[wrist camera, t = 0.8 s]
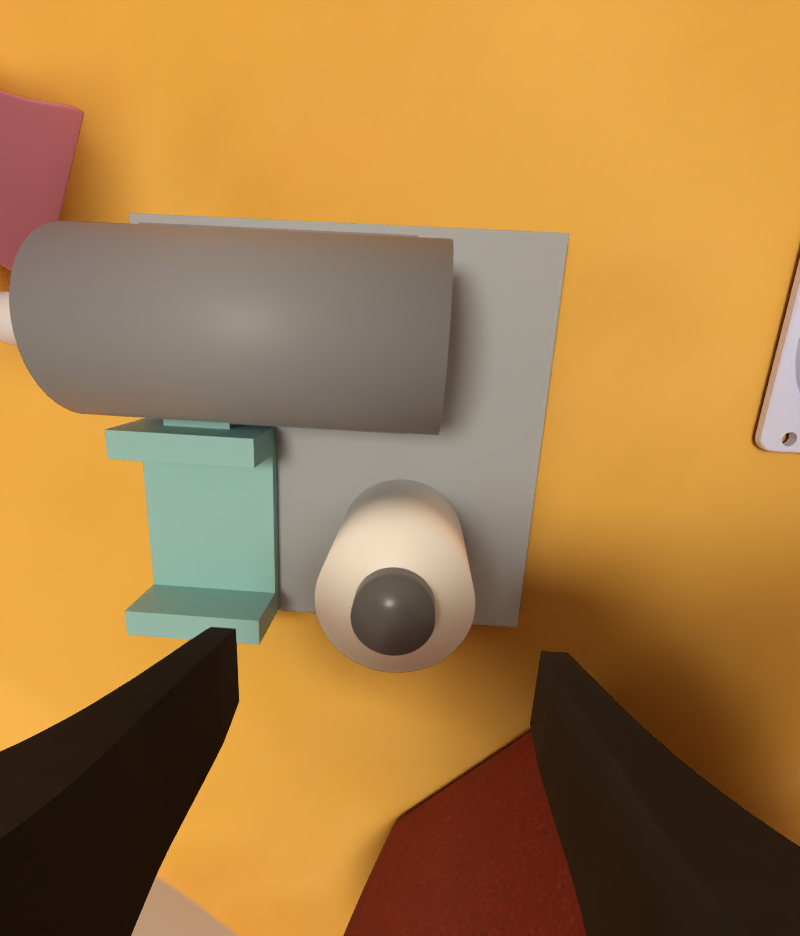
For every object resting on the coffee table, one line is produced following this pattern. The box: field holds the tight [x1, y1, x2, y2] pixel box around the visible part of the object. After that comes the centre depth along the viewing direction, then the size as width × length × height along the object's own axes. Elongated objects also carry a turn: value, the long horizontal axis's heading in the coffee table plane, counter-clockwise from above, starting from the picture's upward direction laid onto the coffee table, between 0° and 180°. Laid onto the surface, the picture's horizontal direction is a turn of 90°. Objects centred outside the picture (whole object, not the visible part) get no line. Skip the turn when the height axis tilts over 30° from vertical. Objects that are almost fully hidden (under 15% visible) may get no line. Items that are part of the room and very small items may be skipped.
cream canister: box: [315, 479, 475, 673], centre depth 16 cm, size 5×5×6 cm
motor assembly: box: [0, 213, 569, 644], centre depth 16 cm, size 17×15×6 cm
